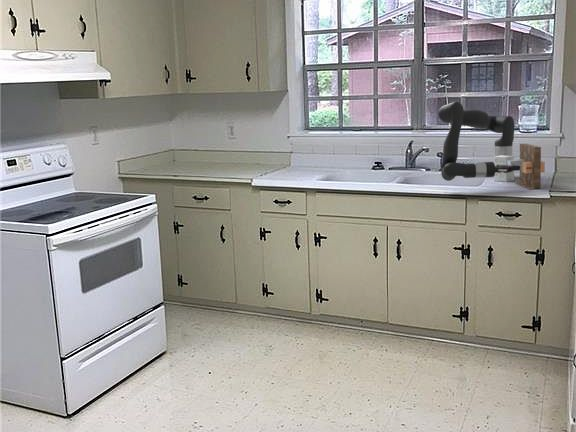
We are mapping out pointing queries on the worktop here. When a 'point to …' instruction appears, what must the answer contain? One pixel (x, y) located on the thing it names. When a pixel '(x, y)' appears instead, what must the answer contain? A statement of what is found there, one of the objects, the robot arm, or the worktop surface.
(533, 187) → the walnut board
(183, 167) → the worktop surface
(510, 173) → the small box
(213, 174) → the worktop surface
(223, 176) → the worktop surface
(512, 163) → the button one
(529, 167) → the button two
